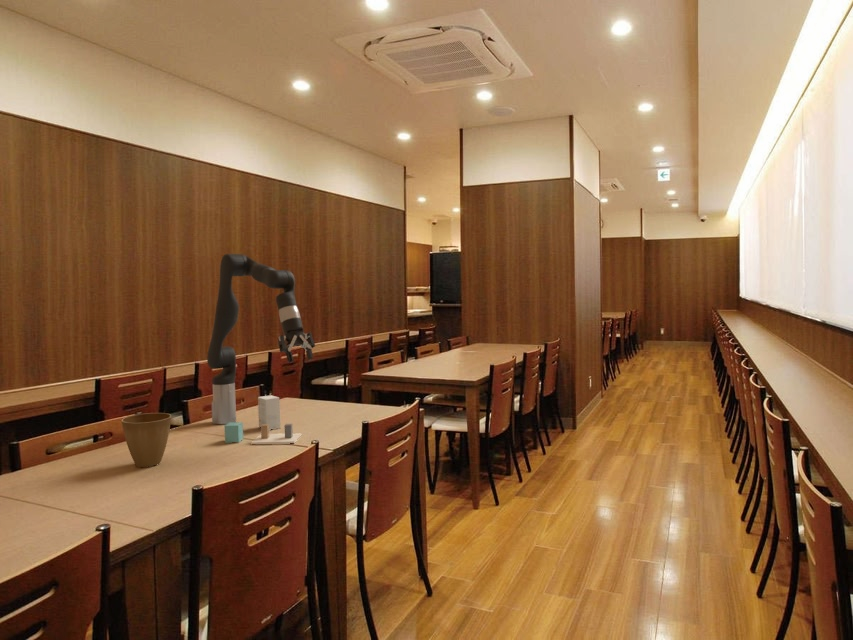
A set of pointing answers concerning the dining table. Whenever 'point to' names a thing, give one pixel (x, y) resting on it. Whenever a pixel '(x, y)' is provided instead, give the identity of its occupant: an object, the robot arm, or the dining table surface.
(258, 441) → the post board
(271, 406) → the small box
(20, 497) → the dining table surface
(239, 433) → the teal block
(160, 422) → the plant pot
